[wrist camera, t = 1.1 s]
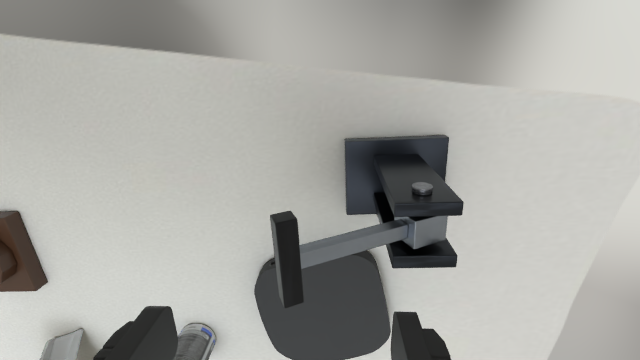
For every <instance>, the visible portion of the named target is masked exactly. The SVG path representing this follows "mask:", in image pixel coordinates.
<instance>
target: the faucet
mask: <svg viewBox="0 0 640 360" xmlns="http://www.w3.org/2000/svg"><path fill="white" fill-rule="evenodd" d="M82 334H83V329H80V330H77V331H75V332H73V333H70V334H67V335H64V336H61V337H58V338H54V339H51V340H49V341H48V342H47V343H46V345H45V347H44V350H43V352H42V355H41V358H40V360H76V358H77V354H78V349H79V345H80V341H81V337H82Z"/></svg>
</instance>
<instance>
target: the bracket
mask: <svg viewBox="0 0 640 360" xmlns="http://www.w3.org/2000/svg"><path fill="white" fill-rule="evenodd" d="M448 142H449V137H447V136H446V135H433V136H408V137H383V138H357V139H345V172H346V211H347V215H356V214H377V215H378V219H379V222H380V224H383V223H387V222H391V221H394V217H416V216H456V215H462V211H463V201H462V200H461V199H460V198H459V197H458V196H457V195H456V194H455V192H454V191H453V190H452V189H451V188H450V187H449V186H448V185H447V184H446V183H445V175H446V164H447V153H448ZM386 247H387V250H388V254H389V257H390V261H391V264H392V267H393V268H437V267H456V263H457V254H456V253H455V251H454V249H453V248H452V246H451V245H450V243H449V242H448V240H447V239H446V238H445V240H444V241H440V242H437V243H434V244H431V245H427V246H424V247H421V248H418V249H413V248H411V247H410V246H409V245H407V244H406V243H405V242H403V241H402V240H400V241H396V242H393V243H389V244H386Z"/></svg>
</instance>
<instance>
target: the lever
mask: <svg viewBox="0 0 640 360" xmlns="http://www.w3.org/2000/svg"><path fill="white" fill-rule="evenodd" d="M447 217H448V216H416V217H394V221H391V222H387V223H383V224H379V225H375V226H371V227H368V228H364V229H360V230H356V231H352V232H348V233H345V234H341V235H337V236H333V237H329V238H325V239H322V240H318V241H314V242H310V243H306V244H302V245H299V235H298V223H297V218H296V217H295V216H294V214H293V213H292V212H291V211H286V212H282V213H277V214H272V215H270V221H271V229H272V238H273V246H274V255H275V264H276V272H277V281H278V289H279V297H280V299H281V301H282V304H283V306H284V308H285V309H286V308H289V307H292V306H295V305H298V304H301V303H304V294H303V282H302V270H301V269H303V268H306V267H309V266H313V265H316V264H320V263H323V262H327V261H330V260H334V259H337V258H341V257H344V256H348V255H351V254H355V253H358V252H361V251H365V250H368V249H372V248H375V247H379V246H382V245H386V244H389V243H393V242H396V241H400V240H402V241H403V242H405V243H406V244H407V245H409V246H410V247H411V248H413V249H418V248H421V247H424V246H427V245H431V244H434V243H437V242H440V241H444V240H445V238H446V228H447Z"/></svg>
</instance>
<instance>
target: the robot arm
mask: <svg viewBox="0 0 640 360" xmlns="http://www.w3.org/2000/svg"><path fill="white" fill-rule="evenodd" d="M177 348H178V336H177V331H176V326H175V322H174V317H173V313H172V309H171V308H170V307H168V306H147V307H146V308H144V309H143V311H142V312H141V313H140V314H139V316H138V317H137V318H136V320H135V321H129V322H128V323H126V324H125V325H124V326H123V327H121V328H120V329H119V330H117V331H116V332H115V333H114V334H113V335H112V336H111V337H110V339H109V340H108V341H107V342H106V343H105V345H104V346H103V349H101V350H100V351H99V352H98V353H97V354H96V356H95V357H94V359H93V360H173V359H174V357H175V355H176V352H177ZM391 359H392V360H451V359H450V354H449V352H448V349H447V347H446V344H445V342H444V341H443V340H442V338H441V337H440V336H439V335H438V334H437V333H436V332H435V330H434V329H422V327H421V324H420V321H419V318H418V315H417V313H416V312H394V314H393V325H392V337H391Z"/></svg>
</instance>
